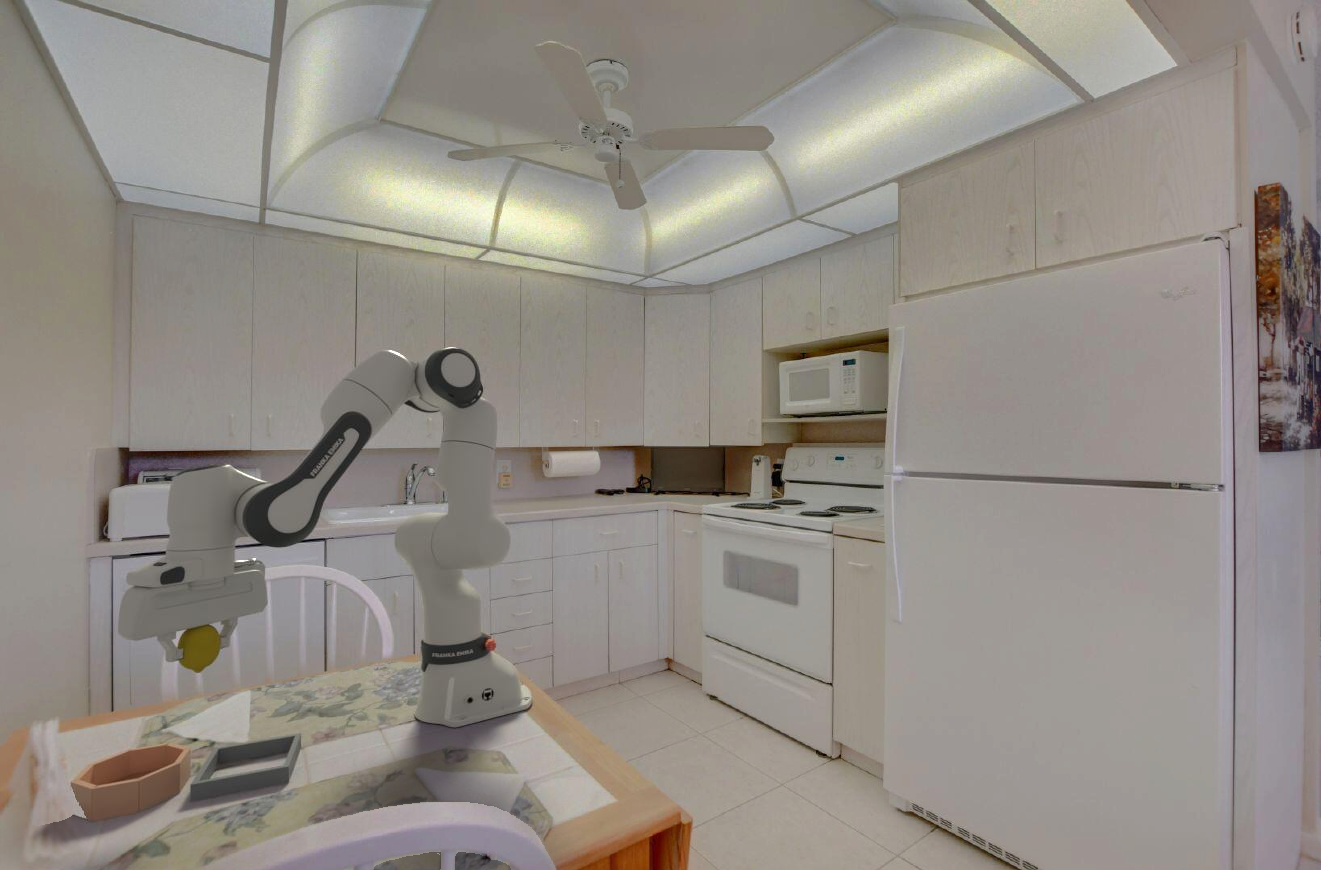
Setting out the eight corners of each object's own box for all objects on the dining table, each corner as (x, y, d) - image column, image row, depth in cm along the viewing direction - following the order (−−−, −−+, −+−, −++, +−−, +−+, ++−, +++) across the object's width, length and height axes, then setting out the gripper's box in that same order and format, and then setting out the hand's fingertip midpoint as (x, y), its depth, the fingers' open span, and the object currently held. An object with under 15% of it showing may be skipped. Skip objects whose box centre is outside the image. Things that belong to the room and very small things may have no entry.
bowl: (197, 765, 101) (197, 737, 101) (170, 805, 89) (171, 774, 90) (99, 782, 96) (99, 753, 96) (56, 828, 84) (57, 794, 85)
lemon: (196, 679, 93) (197, 626, 94) (167, 677, 94) (168, 625, 95) (229, 667, 99) (229, 617, 99) (200, 666, 100) (201, 616, 100)
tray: (301, 747, 107) (301, 732, 107) (288, 782, 95) (288, 766, 95) (214, 762, 102) (214, 747, 102) (190, 801, 90) (190, 784, 91)
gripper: (252, 555, 108) (250, 634, 107) (113, 575, 89) (109, 671, 88) (277, 557, 106) (275, 638, 105) (139, 577, 87) (136, 677, 86)
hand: (198, 654), depth 97 cm, fingers closed on lemon, 6 cm apart
